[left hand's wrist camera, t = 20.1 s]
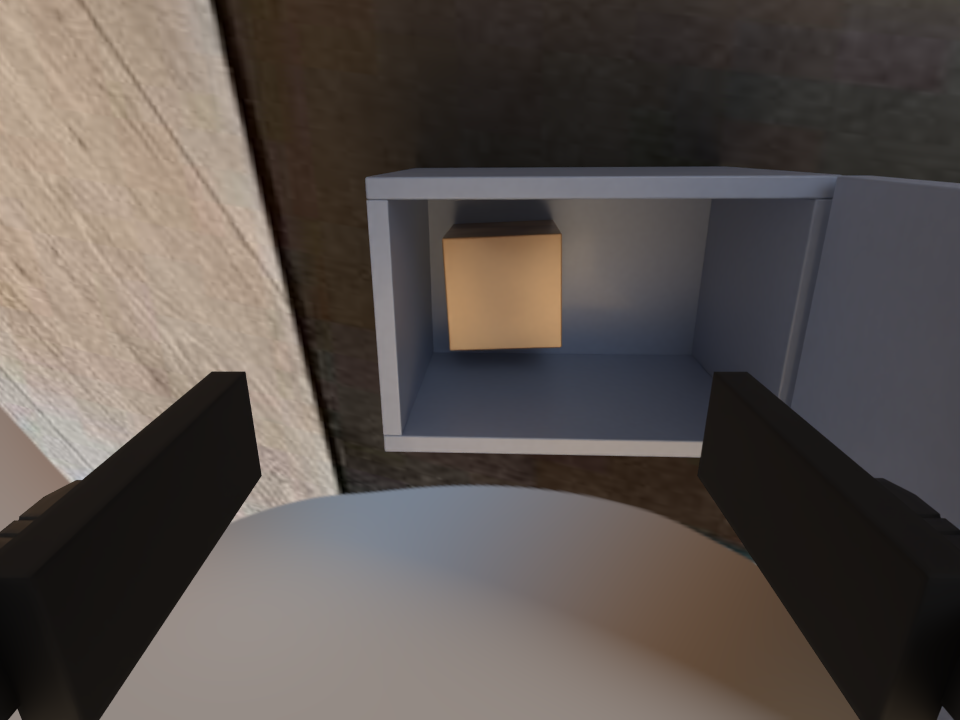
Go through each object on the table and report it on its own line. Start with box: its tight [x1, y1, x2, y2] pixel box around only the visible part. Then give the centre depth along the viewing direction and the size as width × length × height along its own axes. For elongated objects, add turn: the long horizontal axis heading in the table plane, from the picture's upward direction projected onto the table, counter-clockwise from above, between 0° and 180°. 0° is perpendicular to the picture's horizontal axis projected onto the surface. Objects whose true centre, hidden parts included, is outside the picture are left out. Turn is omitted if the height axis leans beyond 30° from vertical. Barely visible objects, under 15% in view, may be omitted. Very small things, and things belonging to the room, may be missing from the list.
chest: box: [365, 167, 842, 457], centre depth 26 cm, size 16×11×11 cm
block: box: [442, 220, 562, 351], centre depth 28 cm, size 5×5×5 cm
